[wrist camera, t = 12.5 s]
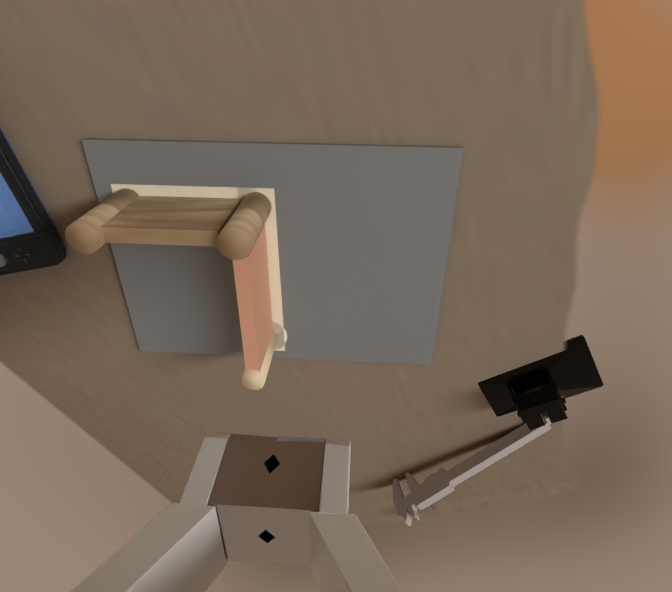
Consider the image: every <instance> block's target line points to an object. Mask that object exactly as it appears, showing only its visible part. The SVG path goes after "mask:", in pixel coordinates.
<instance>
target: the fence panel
mask: <svg viewBox="0 0 672 592" xmlns="http://www.w3.org/2000/svg"><path fill="white" fill-rule="evenodd" d="M233 269H234V277H235V285H236V293H237V302H238V310H239V318H240V327H241V335H242V343H243V352H244V360H245V370H244V372H243V375H242V378H241V382H242V384H243V385H244V386H245V387H246V388H248V389H251V390H258V389H261V388H262V387H263V386H264V383H265V380H266V377H267V373H268V370H269V366H270V363H271V360H272V356H273V353H274V349H275V346H276V343H277V335H276V333H275V332H273V323H272V310H271V297H270V283H269V270H268V257H267V243H266V230H265V224H264V226H263V228H262V230H261V232H260V234H259V236H258V238H257V240H256V242H255V244H254V246H253V248H252V250H251V252H250V253H249V255H248V256H247V257H246V258H244V259H241V260H233Z"/></svg>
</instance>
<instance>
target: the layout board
mask: <svg viewBox="0 0 672 592" xmlns="http://www.w3.org/2000/svg"><path fill="white" fill-rule="evenodd" d="M81 140H82V144H83V148H84V151H85V155H86V158H87V162H88V166H89V169H90V173H91V176H92V180H93V184H94V187H95V191H96V194H97V198H98V202H99V204H100V203H101V202H103V201H104V200H105V199H107V198H108V197H110V196H111V195H113V194H114V193H115V192H117V191H118V190H120V189H123V188H128V189H131V190H134V191H135V192H136V193H138V194H139V196H169V197H203V198H237V199H241V202H242V200H243V199H244V197H245V196H246V195H247V194H249V193H251V192H260V193H262V194H264V195H265V196H267V197H268V199H269V200H270V202H271V206H272V209H271V212H270V215H269V216H268V218H267V220H266V222H265V230H266V243H267V257H268V270H269V283H270V297H271V310H272V323H273V332H275V333H276V335H277V343H276V346H275V349H274V353H273V356H272V358H292V359H312V360H332V361H353V362H373V363H393V364H413V365H432V360H433V353H434V347H435V340H436V333H437V326H438V319H439V313H440V306H441V299H442V292H443V285H444V279H445V272H446V265H447V258H448V252H449V245H450V238H451V231H452V224H453V218H454V211H455V204H456V197H457V190H458V184H459V177H460V170H461V163H462V157H463V150H464V148H463V147H451V146H406V145H361V144H316V143H271V142H226V141H181V140H136V139H91V138H84V139H81ZM110 245H111V248H112V252H113V256H114V259H115V263H116V266H117V270H118V273H119V277H120V281H121V284H122V288H123V291H124V295H125V299H126V302H127V306H128V309H129V313H130V317H131V320H132V324H133V327H134V331H135V335H136V338H137V342H138V345H139V349H140V351H150V352H170V353H190V354H211V355H231V356H244V352H243V343H242V335H241V327H240V318H239V310H238V302H237V293H236V285H235V277H234V269H233V260H232V259H229V258H227V257H225V256H224V255H223V254H222V253H221V252H220V251H219V249H218V247H215V246H187V245H159V244H131V243H110Z"/></svg>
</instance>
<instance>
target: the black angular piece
mask: <svg viewBox="0 0 672 592" xmlns="http://www.w3.org/2000/svg"><path fill="white" fill-rule="evenodd" d="M564 345H565V347H564V351H563V352H560V353H557V354H554V355H552V356H549V357H546V358H544V359H541V360H538V361H535V362H533V363H530V364H527V365H525V366H522V367H519V368H516V369H514V370H511V371H508V372H506V373H503V374H500V375H497V376H495V377H492V378H489V379H487V380H484V381H481V382H479V383H478V385H479V387H480V388H481V390H482V392H483V394H484V395H485V397H486V399H487V400H488V402H489V404H490V405H491V407H492V409H493V411H494V412H495V414H496V416H501V415H504V414H508V413H511V412H514V411H518V413H517V414H518V416H519V417H521V419H522V421H523V422H524V424H525V423H526V424H527V426H528V428H529V430H532V429H535V428H538V427H541V426H545V423H544V420H543V418H542V416H541V415H542V414H545V413H546V414H547V416H548V418H549V420H550V422H551V423H554V422H558V421H561V420H564V419H567V415H566V413H565V411H566V410H567V408H566V406H565V404H564V403H566V400H565V398H568V397H571V396H575V395H578V394H580V393H584V392H587V391H590V390H593V389H596V388H599V387H602V386H603V382H602V379H601V377H600V374H599V372H598V369H597V367H596V364H595V362H594V360H593V357H592V355H591V352H590V350H589V347H588V345H587V342H586V340H585V338H584V336H583V335H579V336H576V337H573V338H570V339H568V340H565V343H564ZM561 396H562V398H561Z"/></svg>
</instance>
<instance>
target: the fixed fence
mask: <svg viewBox="0 0 672 592" xmlns="http://www.w3.org/2000/svg"><path fill="white" fill-rule="evenodd" d="M271 209H272V206H271V202H270V200H269V199H268V197H267V196H265V195H264V194H262V193H260V192H251V193H249V194H247V195H246V196H245V197H244V199H243V200H242V202H241V199H237V198H203V197H169V196H139V194H138V193H136V192H135V191H134V190H131V189H128V188H123V189H120V190H118V191H117V192H115V193H114V194H113V195H111V196H110V197H108V198H107V199H105V200H104V201H103V202H101V203H100V204H98V205H97V206H96V207H94V208H93V209H91V210H90V211H89V212H87V213H86V214H84V215H83V216H81V217H80V218H79V219H77V220H76V221H74V222H73V223H72V224H70V225H69V226H68V227H67V228H66V230H65V238H66V241H67V243H68V244H69V245H70V247H71V248H73V249H74V250H75V251H77V252H79V253H81V254H93V253H95V252H96V251H97V250H98V249H100V248H101V247H102V246H103V245H104V244H105V243H131V244H159V245H187V246H215V247H218V249H219V251H220V252H221V253H222V254H223V255H224V256H225V257H227V258H229V259H232V260H241V259H244V258H246V257H247V256H248V255H249V253H250V252H251V250H252V248H253V246H254V244H255V242H256V240H257V238H258V236H259V234H260V232H261V230H262V228H263V226H264V224H265V222H266V220H267V218H268V216H269V215H270V212H271Z"/></svg>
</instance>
